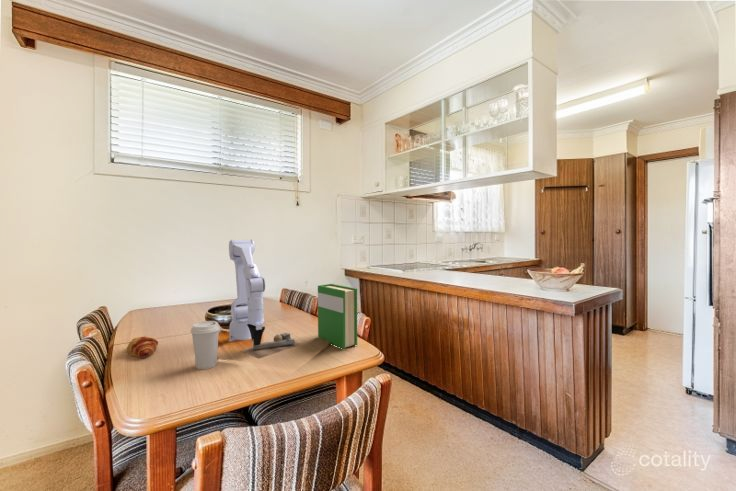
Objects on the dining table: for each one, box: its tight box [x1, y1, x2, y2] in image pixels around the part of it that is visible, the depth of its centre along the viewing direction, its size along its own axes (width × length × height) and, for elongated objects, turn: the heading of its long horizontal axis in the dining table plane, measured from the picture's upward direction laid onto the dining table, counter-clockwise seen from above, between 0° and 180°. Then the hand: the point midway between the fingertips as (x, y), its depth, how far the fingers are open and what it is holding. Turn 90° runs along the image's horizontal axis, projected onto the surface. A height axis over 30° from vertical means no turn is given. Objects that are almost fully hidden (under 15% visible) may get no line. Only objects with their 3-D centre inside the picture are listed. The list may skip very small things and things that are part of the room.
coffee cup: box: [189, 320, 221, 370], centre depth 116 cm, size 10×10×15 cm
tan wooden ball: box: [273, 334, 283, 341], centre depth 136 cm, size 4×4×4 cm
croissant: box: [126, 335, 159, 359], centre depth 130 cm, size 21×10×8 cm, turn 43°
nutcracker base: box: [241, 332, 301, 359], centre depth 131 cm, size 20×12×4 cm, turn 141°
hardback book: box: [317, 283, 358, 350], centre depth 140 cm, size 18×7×24 cm, turn 43°
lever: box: [252, 337, 296, 350], centre depth 132 cm, size 16×2×6 cm, turn 114°
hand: (256, 343), depth 128 cm, fingers open, 4 cm apart
